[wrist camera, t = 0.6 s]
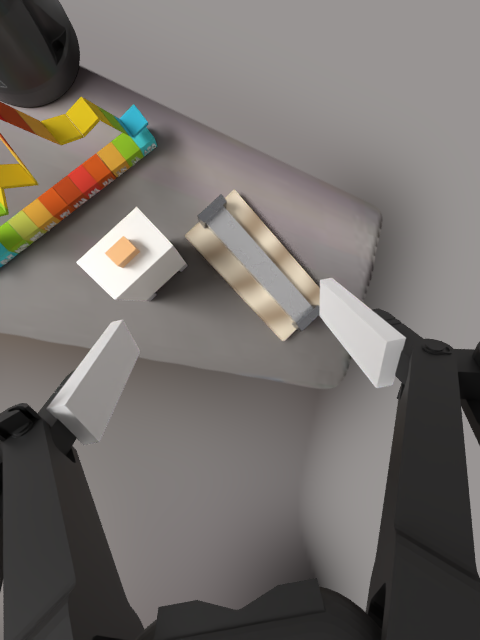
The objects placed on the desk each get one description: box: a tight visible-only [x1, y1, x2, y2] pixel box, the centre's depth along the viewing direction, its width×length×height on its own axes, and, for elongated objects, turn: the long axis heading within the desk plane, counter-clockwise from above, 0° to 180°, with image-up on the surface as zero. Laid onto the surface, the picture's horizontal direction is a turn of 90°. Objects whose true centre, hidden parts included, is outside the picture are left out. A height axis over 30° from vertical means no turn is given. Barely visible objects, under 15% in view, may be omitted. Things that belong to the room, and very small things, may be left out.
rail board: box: [185, 189, 320, 341], centre depth 35 cm, size 22×10×2 cm, turn 43°
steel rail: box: [198, 195, 320, 331], centre depth 33 cm, size 22×4×2 cm, turn 43°
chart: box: [0, 97, 157, 268], centre depth 25 cm, size 30×3×15 cm, turn 129°
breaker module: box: [76, 207, 188, 301], centre depth 27 cm, size 5×8×13 cm, turn 133°
